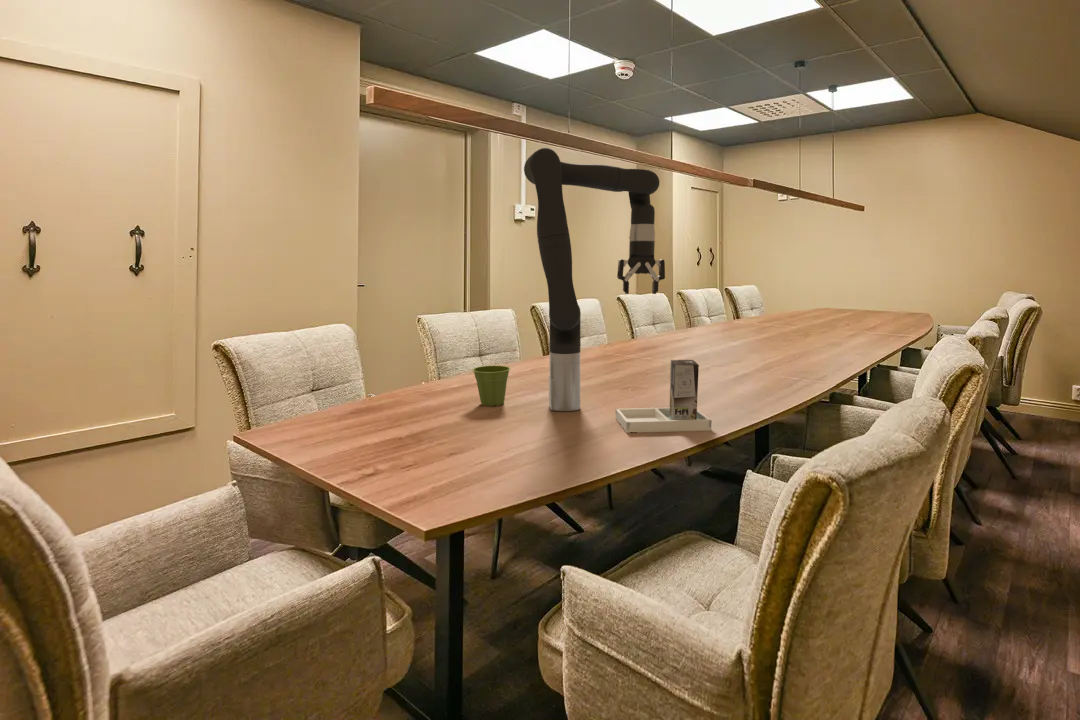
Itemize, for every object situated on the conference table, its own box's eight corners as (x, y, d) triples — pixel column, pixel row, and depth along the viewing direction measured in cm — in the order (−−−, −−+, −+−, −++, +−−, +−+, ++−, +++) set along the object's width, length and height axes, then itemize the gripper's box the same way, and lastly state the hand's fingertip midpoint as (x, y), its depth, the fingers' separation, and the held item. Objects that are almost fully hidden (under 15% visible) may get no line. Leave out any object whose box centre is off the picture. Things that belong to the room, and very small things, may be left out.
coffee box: (697, 424, 163) (699, 364, 160) (672, 424, 163) (674, 364, 161) (692, 416, 172) (693, 359, 169) (668, 415, 172) (670, 359, 170)
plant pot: (478, 399, 199) (477, 365, 197) (514, 400, 197) (513, 365, 195) (468, 408, 187) (467, 371, 185) (507, 409, 186) (506, 372, 184)
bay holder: (626, 432, 159) (626, 422, 158) (615, 418, 173) (615, 408, 173) (711, 430, 161) (711, 420, 160) (693, 416, 175) (693, 406, 174)
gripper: (621, 239, 181) (620, 294, 184) (668, 239, 183) (666, 294, 185) (616, 240, 189) (615, 293, 191) (661, 240, 190) (660, 293, 192)
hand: (640, 293), depth 188 cm, fingers open, 8 cm apart
